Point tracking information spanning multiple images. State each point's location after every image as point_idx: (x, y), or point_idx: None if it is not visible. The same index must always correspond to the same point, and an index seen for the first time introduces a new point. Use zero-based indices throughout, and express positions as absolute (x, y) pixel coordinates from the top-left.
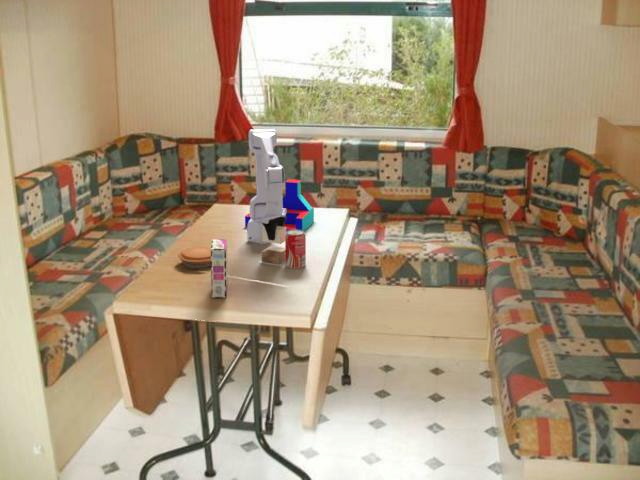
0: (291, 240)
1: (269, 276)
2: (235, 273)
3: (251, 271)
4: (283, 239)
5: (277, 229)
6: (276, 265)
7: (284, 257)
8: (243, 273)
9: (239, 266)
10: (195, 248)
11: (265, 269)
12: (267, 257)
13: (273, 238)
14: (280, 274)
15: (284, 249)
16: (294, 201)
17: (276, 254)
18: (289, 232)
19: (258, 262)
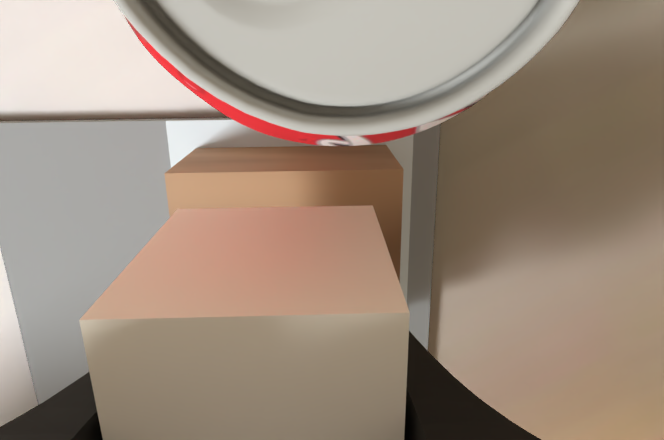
0: None
1: (658, 91)
2: (661, 360)
3: (582, 284)
4: (266, 220)
5: (369, 398)
6: (411, 157)
7: (267, 154)
8: (644, 313)
9: (504, 408)
10: None
11: (497, 211)
12: None
13: (414, 337)
14: (577, 23)
15: (220, 192)
16: None
17: (401, 198)
18: (397, 44)
19: None
